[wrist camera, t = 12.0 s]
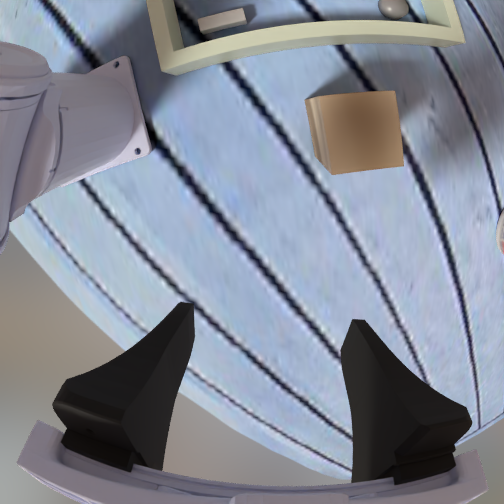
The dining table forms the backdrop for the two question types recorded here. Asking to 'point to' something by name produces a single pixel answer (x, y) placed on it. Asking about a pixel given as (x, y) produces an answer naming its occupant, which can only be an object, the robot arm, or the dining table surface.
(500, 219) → the pill bottle
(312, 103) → the maple block
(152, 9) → the rectangular frame
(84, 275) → the dining table surface
